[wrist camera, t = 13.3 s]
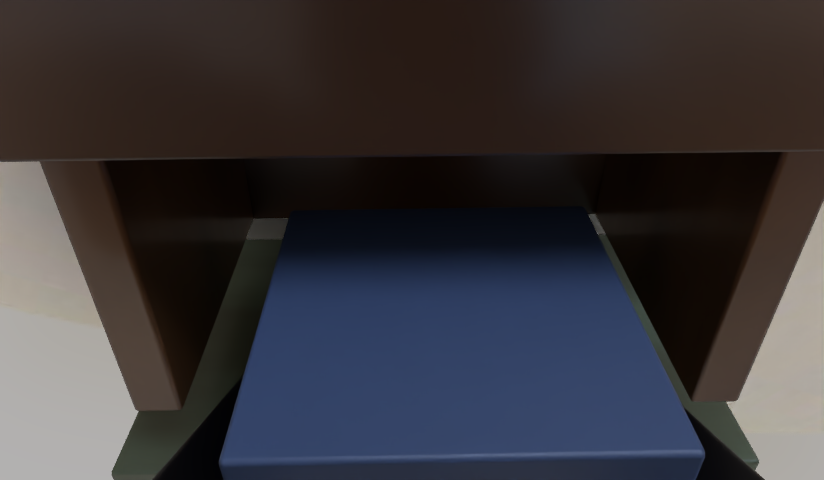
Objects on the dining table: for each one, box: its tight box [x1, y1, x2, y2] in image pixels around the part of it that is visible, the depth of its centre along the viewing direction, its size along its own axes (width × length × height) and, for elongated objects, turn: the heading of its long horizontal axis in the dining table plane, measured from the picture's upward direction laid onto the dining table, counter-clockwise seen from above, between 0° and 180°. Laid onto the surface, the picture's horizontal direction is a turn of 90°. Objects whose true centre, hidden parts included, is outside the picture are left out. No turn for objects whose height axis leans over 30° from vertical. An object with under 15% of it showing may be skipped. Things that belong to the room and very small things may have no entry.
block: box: [219, 206, 705, 480], centre depth 8 cm, size 4×4×4 cm
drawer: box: [40, 151, 824, 480], centre depth 12 cm, size 17×11×7 cm
